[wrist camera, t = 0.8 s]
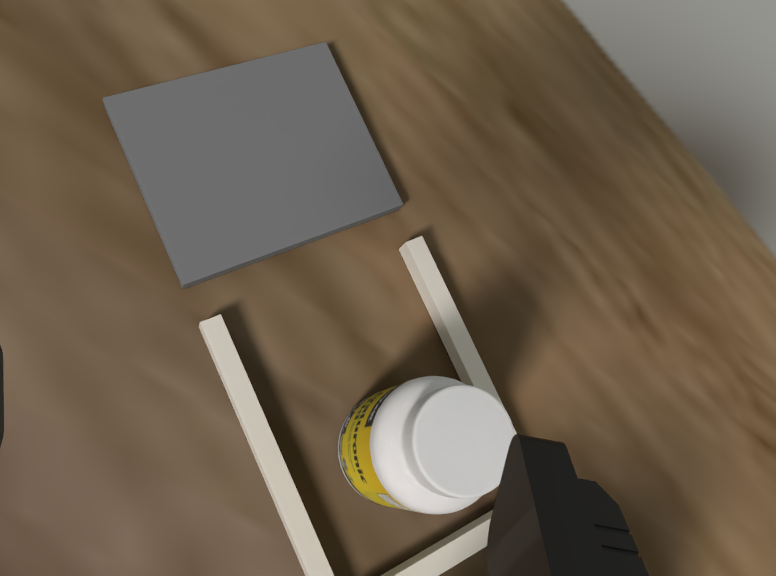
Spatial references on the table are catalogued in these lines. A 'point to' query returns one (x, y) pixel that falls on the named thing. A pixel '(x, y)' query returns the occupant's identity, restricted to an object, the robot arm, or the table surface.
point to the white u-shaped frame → (415, 572)
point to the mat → (251, 160)
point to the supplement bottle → (426, 445)
